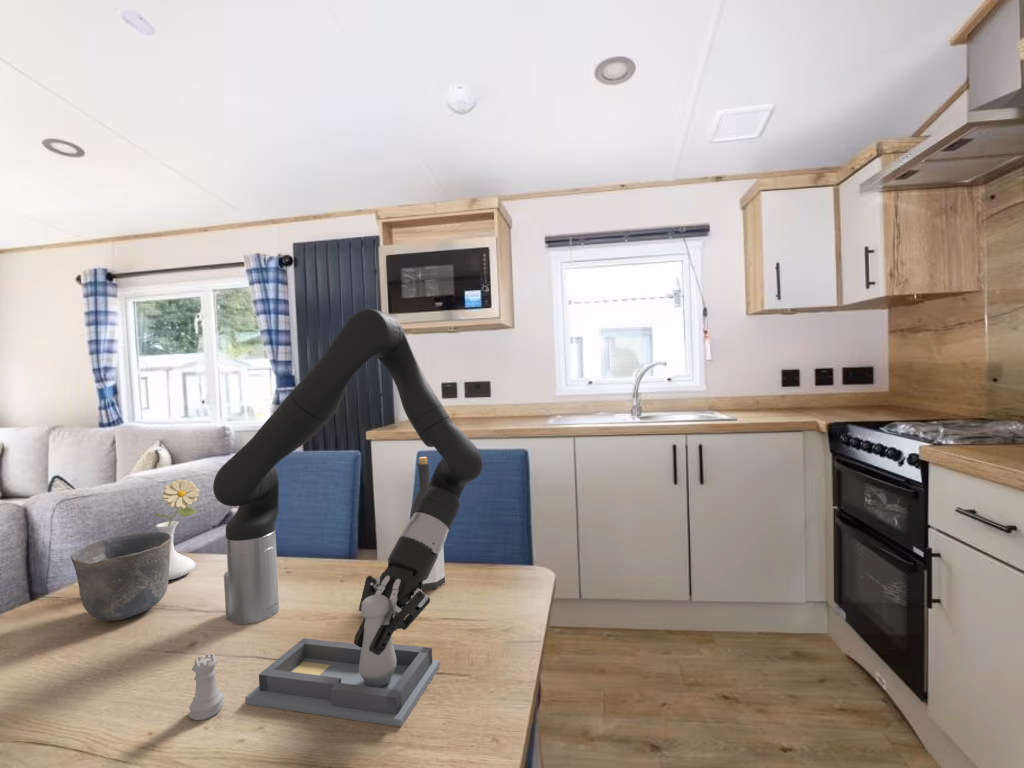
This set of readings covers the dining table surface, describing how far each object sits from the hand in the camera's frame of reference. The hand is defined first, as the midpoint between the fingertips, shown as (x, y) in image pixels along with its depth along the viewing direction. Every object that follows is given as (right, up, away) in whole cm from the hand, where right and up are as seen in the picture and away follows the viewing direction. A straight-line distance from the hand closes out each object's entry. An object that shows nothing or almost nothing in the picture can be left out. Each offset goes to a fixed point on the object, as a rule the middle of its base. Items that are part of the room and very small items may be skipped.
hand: (366, 648), depth 73 cm
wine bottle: (+3, -7, +40) cm, 41 cm away
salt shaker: (+1, -6, +2) cm, 6 cm away
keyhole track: (-4, -7, +3) cm, 9 cm away
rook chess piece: (-23, -8, -2) cm, 25 cm away
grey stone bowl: (-62, -10, +31) cm, 70 cm away
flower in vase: (-66, -9, +51) cm, 84 cm away
